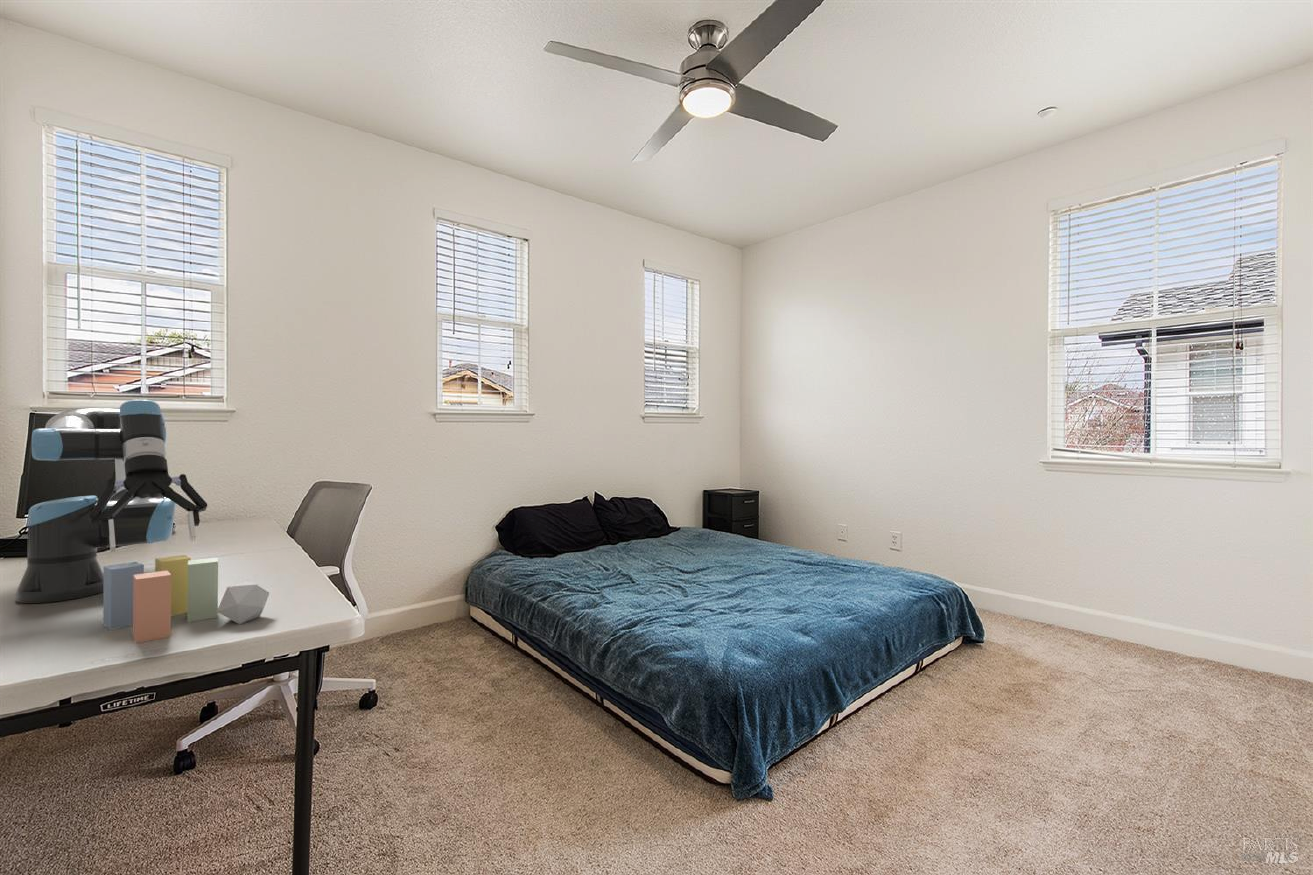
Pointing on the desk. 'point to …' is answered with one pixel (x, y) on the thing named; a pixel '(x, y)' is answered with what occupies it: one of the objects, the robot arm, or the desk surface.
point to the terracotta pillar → (151, 606)
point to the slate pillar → (119, 594)
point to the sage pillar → (202, 589)
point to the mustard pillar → (176, 580)
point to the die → (243, 602)
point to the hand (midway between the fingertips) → (154, 544)
